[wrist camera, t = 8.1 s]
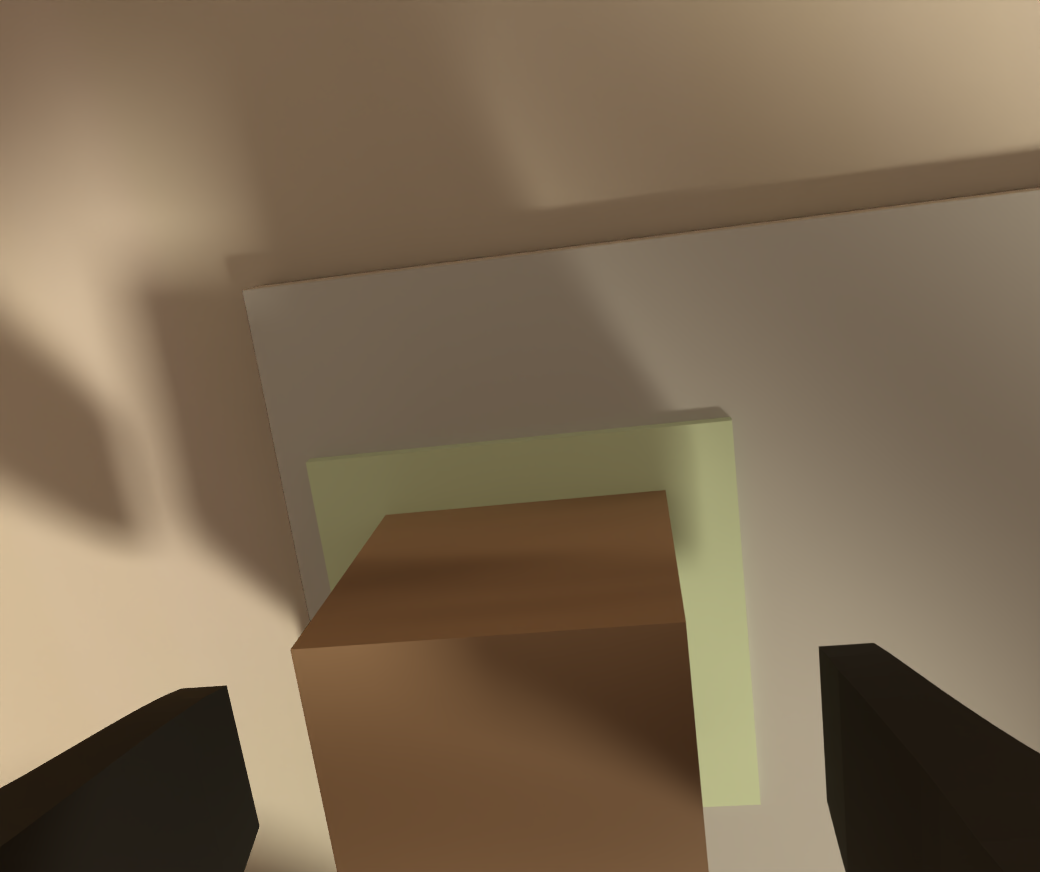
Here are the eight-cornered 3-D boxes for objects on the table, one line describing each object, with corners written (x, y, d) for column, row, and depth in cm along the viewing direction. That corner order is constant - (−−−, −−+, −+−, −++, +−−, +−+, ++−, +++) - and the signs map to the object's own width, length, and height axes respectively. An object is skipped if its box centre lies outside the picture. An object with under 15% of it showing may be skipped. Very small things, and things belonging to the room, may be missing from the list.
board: (1688, 105, 11) (1769, 99, 10) (1549, 878, 14) (1606, 920, 13) (258, 285, 13) (235, 292, 13) (384, 914, 16) (371, 951, 15)
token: (689, 744, 14) (716, 962, 10) (427, 757, 14) (358, 968, 10) (665, 490, 13) (685, 621, 9) (385, 515, 13) (291, 649, 9)
